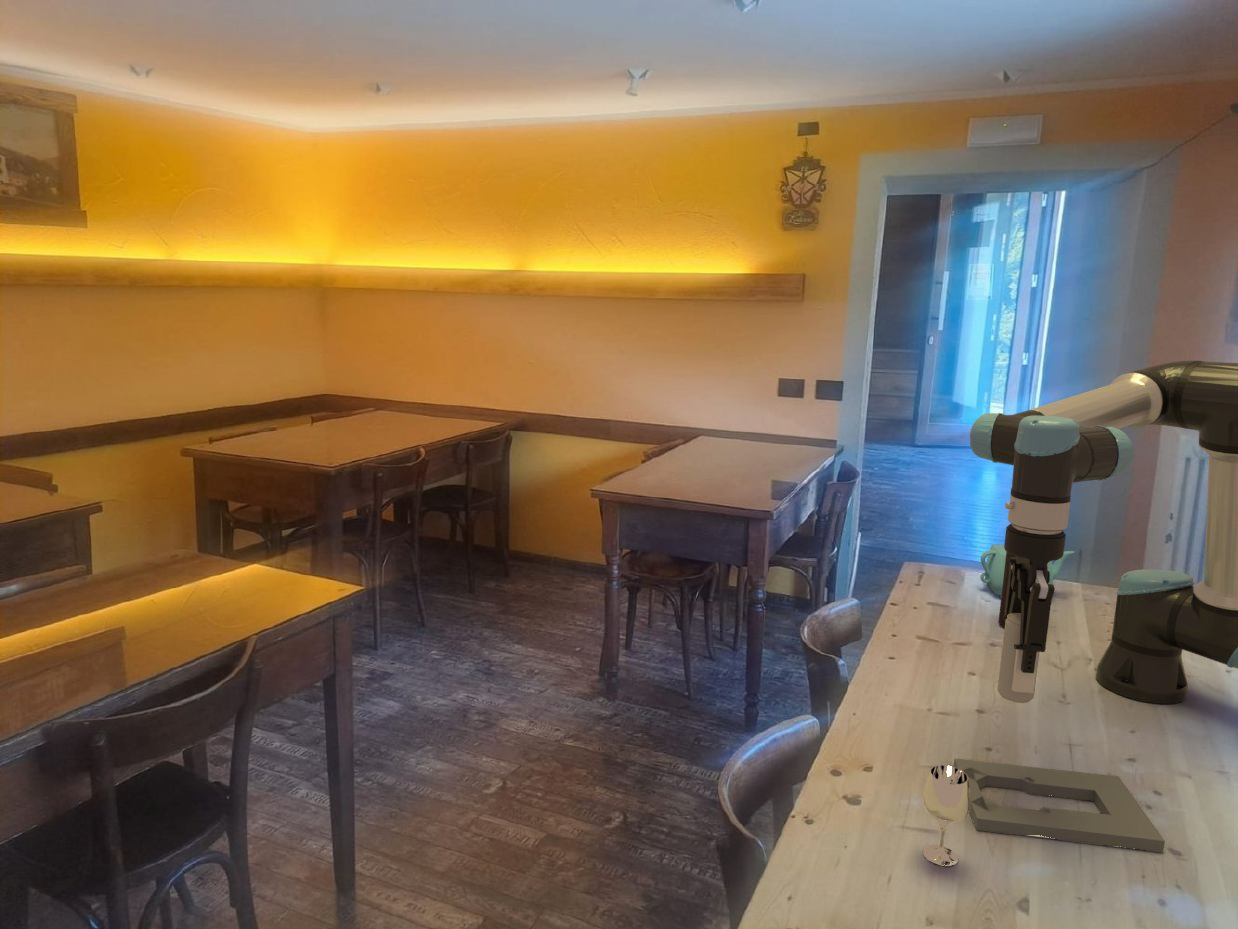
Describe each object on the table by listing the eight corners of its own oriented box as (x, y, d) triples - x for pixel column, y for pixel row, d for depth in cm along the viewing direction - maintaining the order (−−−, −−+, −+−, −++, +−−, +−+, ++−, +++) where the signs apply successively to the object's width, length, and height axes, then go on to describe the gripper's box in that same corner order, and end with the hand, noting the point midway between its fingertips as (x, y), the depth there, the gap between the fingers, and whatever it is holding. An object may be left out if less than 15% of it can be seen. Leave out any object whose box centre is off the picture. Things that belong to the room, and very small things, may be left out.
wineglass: (910, 843, 115) (918, 763, 113) (951, 841, 116) (959, 762, 113) (929, 871, 110) (937, 788, 107) (971, 869, 110) (981, 786, 108)
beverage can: (1037, 706, 119) (1047, 626, 117) (1001, 702, 120) (1010, 623, 118) (1028, 691, 124) (1038, 614, 122) (993, 687, 125) (1002, 611, 123)
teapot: (1023, 610, 204) (1030, 556, 201) (966, 589, 218) (972, 539, 215) (1069, 598, 213) (1076, 547, 210) (1012, 579, 227) (1017, 530, 224)
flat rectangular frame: (1117, 787, 129) (1118, 776, 129) (1163, 853, 114) (1164, 841, 114) (953, 768, 134) (954, 758, 133) (976, 830, 118) (977, 818, 118)
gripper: (992, 510, 127) (976, 655, 131) (1024, 543, 109) (1005, 708, 114) (1046, 513, 125) (1028, 660, 130) (1087, 547, 108) (1064, 714, 112)
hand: (1017, 682), depth 122 cm, fingers closed on beverage can, 5 cm apart
